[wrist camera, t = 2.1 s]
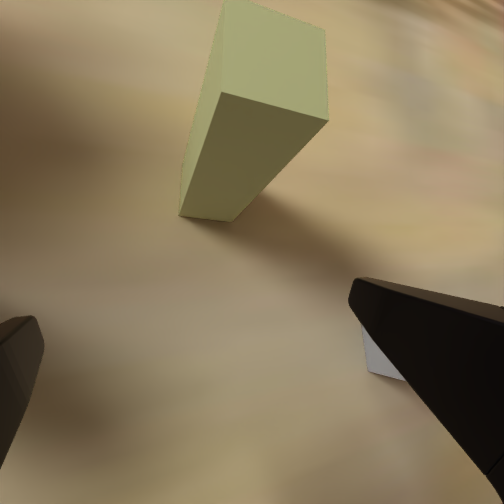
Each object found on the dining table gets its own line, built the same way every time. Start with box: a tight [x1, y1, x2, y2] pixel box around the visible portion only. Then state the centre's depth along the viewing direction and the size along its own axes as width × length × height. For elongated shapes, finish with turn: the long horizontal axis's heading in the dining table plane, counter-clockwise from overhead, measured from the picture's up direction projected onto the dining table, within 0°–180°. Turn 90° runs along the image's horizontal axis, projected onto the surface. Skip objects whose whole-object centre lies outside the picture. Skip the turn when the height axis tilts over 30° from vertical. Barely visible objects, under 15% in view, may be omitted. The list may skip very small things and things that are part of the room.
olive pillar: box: [179, 0, 329, 222], centre depth 16 cm, size 4×4×13 cm
